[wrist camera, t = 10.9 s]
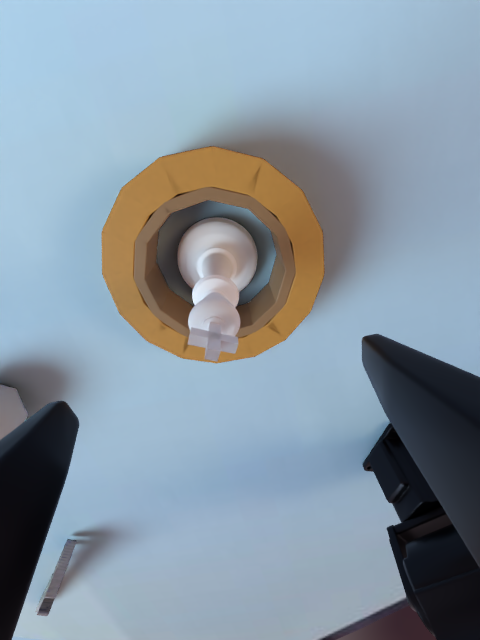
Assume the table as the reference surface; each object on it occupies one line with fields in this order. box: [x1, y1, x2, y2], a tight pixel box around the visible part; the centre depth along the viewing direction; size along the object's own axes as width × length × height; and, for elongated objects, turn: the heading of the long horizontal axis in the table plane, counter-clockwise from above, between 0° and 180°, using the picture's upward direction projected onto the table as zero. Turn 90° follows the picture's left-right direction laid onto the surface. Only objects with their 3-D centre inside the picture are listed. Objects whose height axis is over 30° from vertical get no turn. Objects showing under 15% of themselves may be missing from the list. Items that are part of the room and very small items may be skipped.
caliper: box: [35, 539, 77, 616], centre depth 35 cm, size 20×1×6 cm, turn 153°
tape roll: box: [102, 146, 325, 363], centre depth 17 cm, size 12×12×3 cm
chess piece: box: [177, 217, 258, 361], centre depth 14 cm, size 5×5×10 cm
